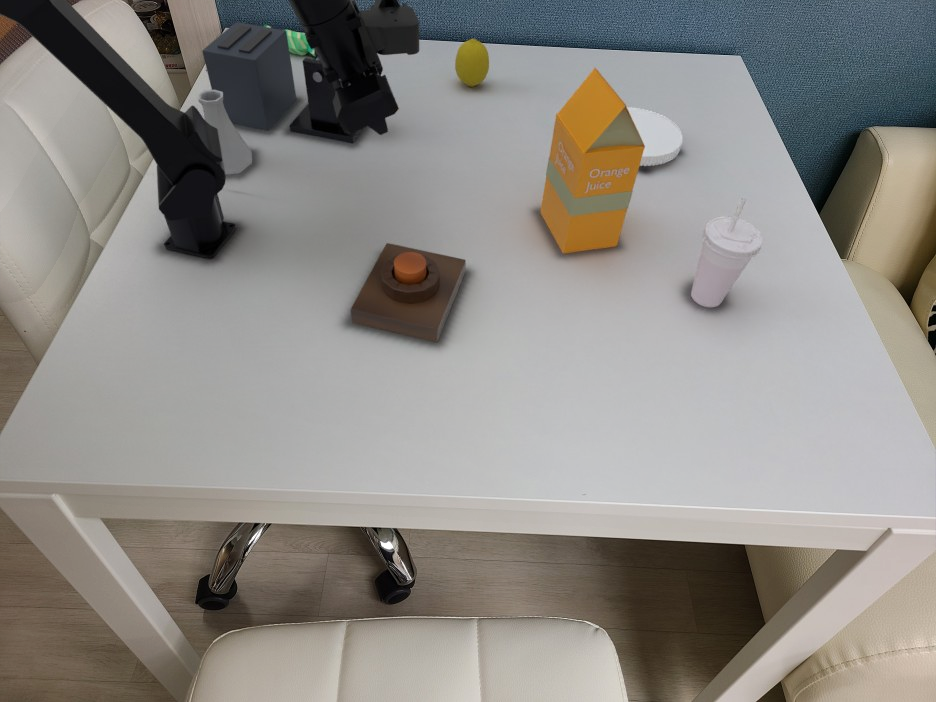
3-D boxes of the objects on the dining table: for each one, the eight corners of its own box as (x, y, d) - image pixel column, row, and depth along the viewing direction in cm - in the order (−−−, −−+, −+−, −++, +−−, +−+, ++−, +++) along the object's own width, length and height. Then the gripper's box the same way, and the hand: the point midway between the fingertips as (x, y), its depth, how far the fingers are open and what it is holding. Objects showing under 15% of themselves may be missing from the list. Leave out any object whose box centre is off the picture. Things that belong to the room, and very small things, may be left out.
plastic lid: (635, 113, 109) (639, 99, 108) (697, 156, 102) (702, 141, 100) (568, 135, 104) (571, 120, 102) (628, 181, 97) (632, 166, 95)
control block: (437, 343, 74) (437, 317, 71) (351, 323, 75) (348, 297, 72) (465, 273, 82) (466, 247, 79) (387, 256, 83) (385, 230, 80)
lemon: (449, 82, 113) (450, 34, 107) (478, 77, 115) (481, 29, 109) (462, 97, 110) (465, 49, 104) (492, 92, 112) (496, 43, 106)
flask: (260, 150, 97) (246, 84, 89) (244, 179, 92) (228, 112, 85) (210, 145, 97) (193, 79, 90) (192, 174, 92) (172, 106, 85)
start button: (420, 288, 75) (420, 276, 73) (389, 281, 75) (389, 269, 74) (430, 267, 77) (430, 255, 76) (400, 260, 77) (399, 249, 76)
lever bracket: (372, 118, 104) (367, 49, 96) (353, 145, 99) (347, 74, 91) (312, 107, 106) (302, 37, 98) (290, 132, 100) (278, 62, 92)
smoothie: (694, 271, 84) (733, 176, 74) (742, 295, 82) (789, 200, 71) (670, 297, 81) (707, 201, 70) (719, 323, 78) (765, 228, 68)
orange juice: (562, 254, 85) (592, 108, 70) (538, 212, 91) (562, 68, 76) (618, 246, 87) (659, 101, 72) (592, 205, 92) (625, 63, 77)
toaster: (268, 132, 100) (254, 57, 92) (219, 122, 101) (201, 48, 93) (296, 100, 107) (286, 28, 98) (250, 91, 108) (235, 19, 99)
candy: (332, 48, 117) (323, 34, 113) (325, 66, 117) (316, 52, 113) (273, 34, 120) (262, 19, 116) (266, 51, 119) (255, 37, 115)
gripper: (416, 15, 62) (465, 148, 74) (379, -59, 74) (427, 66, 86) (307, 65, 63) (374, 188, 75) (288, -16, 74) (348, 102, 87)
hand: (383, 131), depth 81 cm, fingers closed
